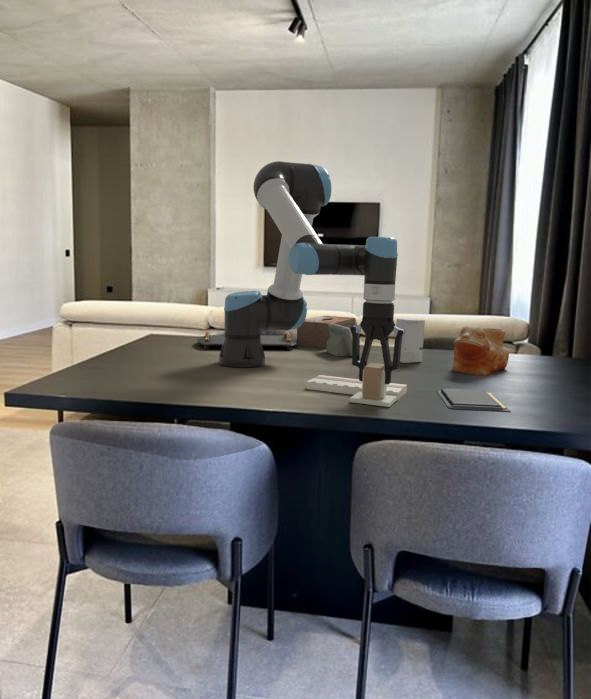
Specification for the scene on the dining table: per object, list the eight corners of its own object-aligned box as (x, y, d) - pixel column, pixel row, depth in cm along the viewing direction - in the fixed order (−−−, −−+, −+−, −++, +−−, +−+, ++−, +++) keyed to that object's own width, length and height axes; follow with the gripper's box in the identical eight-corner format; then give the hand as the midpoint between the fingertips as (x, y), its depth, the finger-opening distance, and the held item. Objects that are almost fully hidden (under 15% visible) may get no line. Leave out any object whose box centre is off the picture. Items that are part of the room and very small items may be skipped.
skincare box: (402, 363, 200) (405, 319, 198) (392, 360, 205) (395, 317, 203) (423, 362, 203) (425, 319, 201) (413, 359, 209) (415, 317, 206)
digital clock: (358, 357, 209) (359, 328, 207) (333, 357, 207) (334, 327, 205) (346, 350, 225) (347, 322, 223) (323, 350, 223) (324, 322, 221)
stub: (349, 401, 145) (351, 366, 143) (359, 395, 152) (360, 360, 151) (389, 407, 141) (391, 370, 139) (397, 399, 148) (399, 364, 147)
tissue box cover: (323, 338, 256) (324, 315, 254) (354, 341, 249) (355, 317, 248) (296, 345, 233) (297, 320, 231) (329, 349, 227) (330, 323, 225)
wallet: (435, 386, 161) (493, 388, 159) (435, 392, 161) (492, 395, 160) (446, 404, 141) (512, 407, 140) (446, 411, 141) (511, 415, 140)
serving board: (195, 351, 215) (195, 334, 214) (198, 341, 238) (198, 326, 237) (300, 352, 220) (301, 335, 219) (293, 342, 242) (293, 327, 241)
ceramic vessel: (439, 372, 187) (443, 325, 185) (476, 362, 206) (479, 319, 204) (480, 379, 178) (484, 330, 176) (515, 368, 197) (519, 323, 195)
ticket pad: (306, 388, 158) (306, 381, 158) (319, 381, 167) (319, 374, 167) (397, 400, 149) (398, 392, 148) (406, 392, 158) (407, 384, 157)
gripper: (340, 300, 142) (336, 394, 146) (410, 304, 136) (404, 403, 140) (349, 298, 149) (346, 388, 153) (417, 302, 143) (411, 396, 146)
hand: (374, 395), depth 146 cm, fingers closed on stub, 4 cm apart
